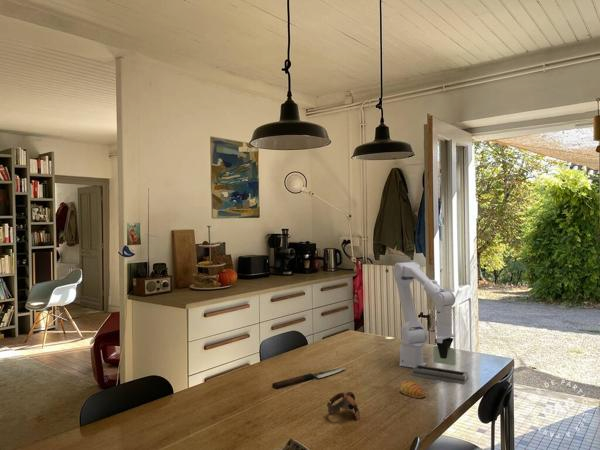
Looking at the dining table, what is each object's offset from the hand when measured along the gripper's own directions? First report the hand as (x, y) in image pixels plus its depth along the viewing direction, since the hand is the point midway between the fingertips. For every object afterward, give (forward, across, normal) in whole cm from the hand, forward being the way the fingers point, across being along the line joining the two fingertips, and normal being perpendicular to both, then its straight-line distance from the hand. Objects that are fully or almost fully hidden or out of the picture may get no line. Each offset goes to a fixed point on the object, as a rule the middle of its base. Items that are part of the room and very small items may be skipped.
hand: (444, 357), depth 178 cm
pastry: (+9, -21, +6) cm, 24 cm away
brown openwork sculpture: (+9, -50, +18) cm, 54 cm away
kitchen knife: (+9, -26, +44) cm, 52 cm away
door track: (+8, +1, +2) cm, 9 cm away
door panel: (+2, 0, 0) cm, 2 cm away
